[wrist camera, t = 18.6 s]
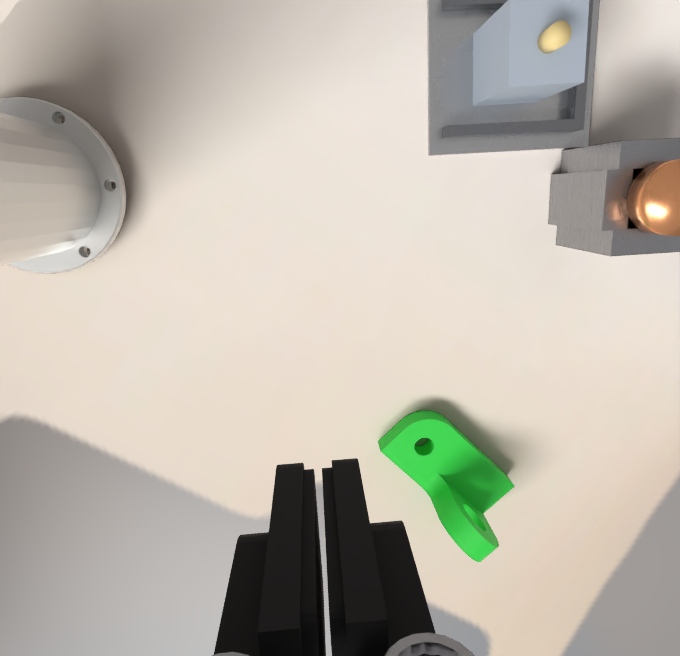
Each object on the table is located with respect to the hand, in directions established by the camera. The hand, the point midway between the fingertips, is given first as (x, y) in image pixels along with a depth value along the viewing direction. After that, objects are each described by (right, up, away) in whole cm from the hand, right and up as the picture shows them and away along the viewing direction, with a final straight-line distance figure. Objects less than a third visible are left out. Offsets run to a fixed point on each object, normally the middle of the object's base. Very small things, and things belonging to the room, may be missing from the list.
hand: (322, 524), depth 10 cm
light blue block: (+13, +24, +27) cm, 39 cm away
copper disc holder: (+22, +15, +31) cm, 40 cm away
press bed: (+13, +24, +28) cm, 39 cm away
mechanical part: (+10, -8, +37) cm, 39 cm away
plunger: (+22, +15, +29) cm, 39 cm away
